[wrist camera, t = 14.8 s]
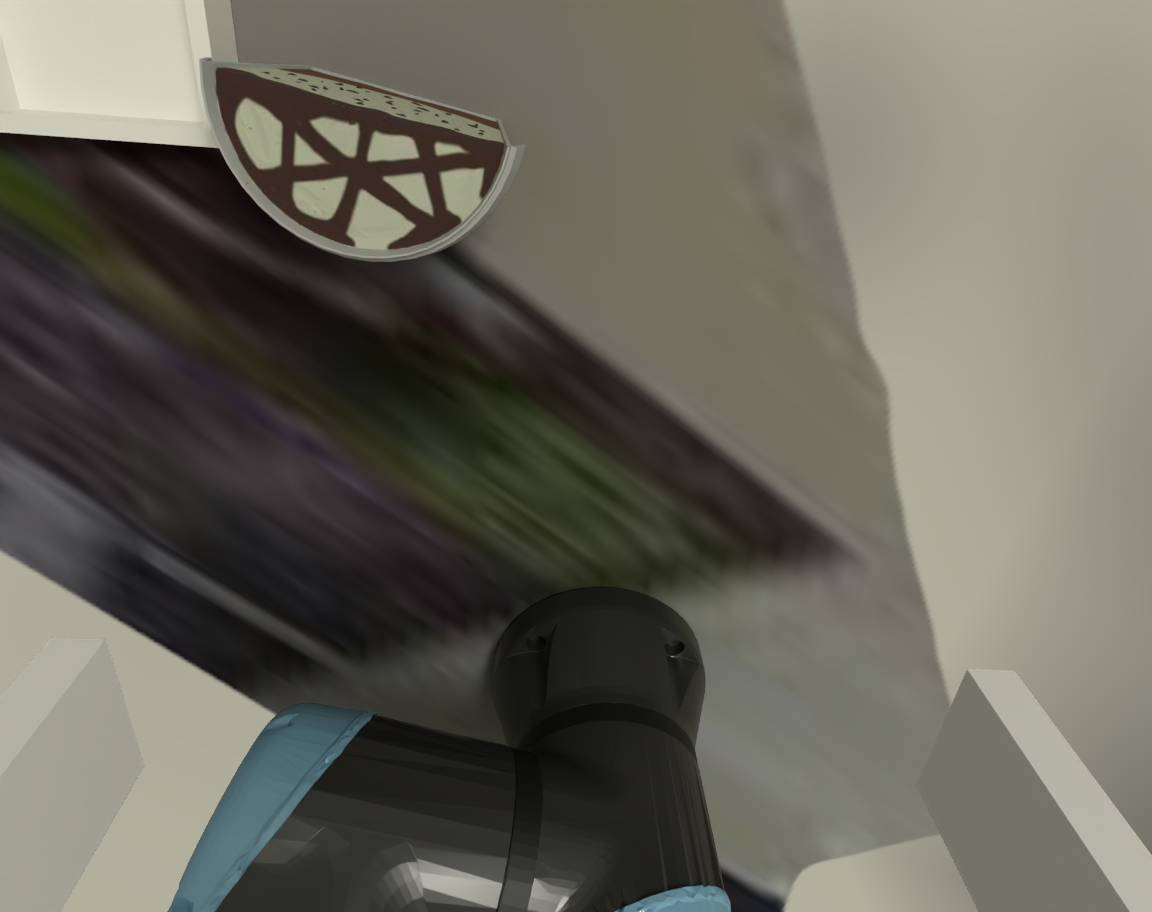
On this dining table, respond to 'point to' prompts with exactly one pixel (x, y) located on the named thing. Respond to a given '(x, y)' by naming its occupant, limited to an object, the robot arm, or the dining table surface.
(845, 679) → the dining table surface
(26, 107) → the organiser
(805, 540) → the dining table surface
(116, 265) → the dining table surface
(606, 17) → the dining table surface
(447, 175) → the food container
